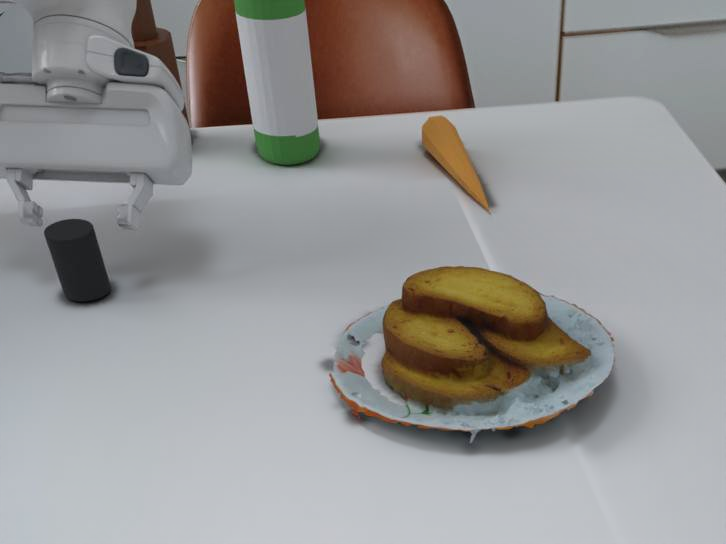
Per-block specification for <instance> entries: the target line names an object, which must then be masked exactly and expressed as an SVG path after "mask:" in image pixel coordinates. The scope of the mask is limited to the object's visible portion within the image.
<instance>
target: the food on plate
mask: <svg viewBox="0 0 726 544" xmlns="http://www.w3.org/2000/svg"><path fill="white" fill-rule="evenodd" d="M376 334H383V341H384V347H385V348H384V349H385V352H384V354H383V356H382V357H381V361H380V364H381V371H382V375H383V379H384V382H385V383H384V384H385V385H386V386H388V388H390V389H391V390H393V391H394V392H395V393H397V394H398V395H399V396H400V397H401V398H402V399H403V400H404V401H406V404H400V403H397V402H394V401H391V400H390V399H389V397H388V396H386V395H383V394H382V393H381V390H380V389H377V388H376V389H375V388H373V386H372V384H371V382H369V380H368V379H367V378H366V375H365V371H364V369H363V366H362V359H363V358H364V356H365V355H366V352H365V350H364V349H363V348H362V347H363V346H364V345H366V341H367V340H370V339H371V338H372V337H373V336H374V335H376ZM348 336H351V337H353V338H354V340H355V342H359V344H358V345H354V344H352V343H351V341H349V340H348ZM365 340H366V341H365ZM614 342H615V339H614V337H612V333H611V332H609V330H607V329H606V328H605V327H604V325H603V324H602V322H601V321H600V320H599V319H598V318H597V317H595V316H593V315H592V314H591V313H588V312H587V311H586V310H585V309H584V308H581V307H580V306H578V305H577V304H575V303H570V302H569V301H567V300H564V299H560V298H557V297H556V296H555V295H545V294H543V293H541V292H540V291H538V290H537V289H535V288H534V287H532V286H531V285H529V284H527V283H526V282H524V281H522V280H520V279H518V278H516V277H514V276H512V275H510V274H507V273H503V272H499V271H494V270H490V269H487V268H483V267H476V266H463V265H457V266H452V265H451V266H447V265H446V266H438V267H434V268H429V269H425V270H421V271H418V272H416V273H413V274H412V275H410V276H408V277H407V278H406V280H405V281H404V282H403V284H402V287H401V298H398V299H396V300H392V302H390V304H388V305H387V306H385V307H384V306H383V307H381V308H379V310H374V311H370V312H368V313H367V314H366V315H364V316H362V317H360V318H359V319H357V320H356V321H355V322H352V323H349V325H348V326H347V327H346V329H345V330H344V332H343V335H342V336H341V337H340V338H339V342H338V344H337V345H336V346H335V350H336V351H335V353H334V357H333V366H332V369H333V372H329V373H328V376H329V378H330V382H331V383H332V385H333V387H334V389H335V390H336V392H337V394H340V400H343V401H344V402H346V405H347V406H348V407H349V408H352V409H353V410H350V411H351V413H352V415H353V416H355V417H358V419H359V420H360V421H361V420H362V419H361V416H360V415H359V413H363V414H364V415H365V416H368V417H374V418H378V419H380V420H381V421H384V422H387V423H391V424H397V423H400V424H402V425H404V426H406V427H409V426H412V425H413V426H414V425H415V426H417V428H418V429H424V430H431V429H436V430H441V431H461V432H465V433H466V432H470V434H471V435H470V441H469V444H472V443H473V442H474V439H475V438H476V436H477V434H478V433H479V432H481V431H482V430H491V431H492V432H495V431H496V430H498V431H499V430H502V431H503V430H511V429H513V428H514V427H516V428H517V427H526V428H529V429H533V428H534V426H535V425H541V424H545V423H547V422H548V421H550V420H551V419H554V418H556V417H558V416H559V415H560V414H562V413H563V412H564V411H570V410H571V409H573V408H575V407H576V406H577V405H578V403H579V401H582V400H584V399H586V398H588V397H592V396H593V395H594V391H595V389H596V388H597V387H599V386H600V385H602V384H603V383H605V379H607V378H608V377H609V376H610V375H611V373H612V370H613V369H614V362H615V361H616V358H615V357H616V355H615V354H616V352H615V344H614Z"/></svg>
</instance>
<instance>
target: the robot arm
mask: <svg viewBox="0 0 726 544" xmlns="http://www.w3.org/2000/svg"><path fill="white" fill-rule="evenodd" d="M14 5H16V6H19V7H21V8H23V9H25V10H26V11H27V12H28V13H29V15H30V16H31V19H32V57H31V72H11V73H10V72H7V73H6V72H4V71H0V180H3V179H4V180H6V182H7V184H8V186H9V187H10V189H11V191H12V194H13V195H14V197H15V199H16V200H17V202H18V212H17V213H18V214H17V215H18V220H19V222H20V223H22V224H23V225H25V226H27V227H42V226H43V219H42V218H43V216H44V208H43V207H42V206H40V205H38V203H37V202H35V201H33V200H32V199H31V197H30V195H29V192H28V191H32V190H33V189H34V188H33V187H34V181H52V182H53V181H55V182H77V183H79V182H80V183H102V184H103V183H104V184H105V183H107V184H129V186H131V188H133V191H132V192H131V194H130V196H129V198H128V200H127V202H126V203H125V204H117V211H116V212H117V214H118V215H117V216H116V222H117V225H118V226H119V227H120V228H121V229H122V230H129V231H130V230H131V231H139V230H140V228H141V213H142V212H143V211H144V209H145V208H146V207H147V205H148V203H149V202H150V200H151V199H152V197H153V196H154V185H157V186H184V185H185V184H186V183H187V182H188V180H189V179H190V178H191V177H192V175H193V144H192V145H191V136H192V134H191V135H190V131H191V127H190V128H189V126H190V124H189V125H188V122H187V120H186V118H185V117H184V115H183V114H182V112H181V111H182V110H183V108H184V101H185V94H184V91H183V89H182V90H181V88H180V86H179V84H178V82H177V81H176V79H175V78H174V76H173V75H172V73H171V72H170V71H169V70H168V68H167V67H166V66H165V65H164V64H163V63H162V61H161V60H160V59H158V58H157V57H155V56H153V55H150V54H148V53H145V52H142V51H139V50H137V49H135V47H134V42H133V38H132V34H131V25H132V21H133V18H134V15H135V12H136V5H137V0H0V17H1V16H2V15H3V14H4V13H5V12H6V11H7V10H9V9H10V8H12V7H13V6H14ZM182 91H183V92H182Z"/></svg>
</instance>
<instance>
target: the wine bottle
mask: <svg viewBox="0 0 726 544" xmlns="http://www.w3.org/2000/svg"><path fill="white" fill-rule="evenodd" d="M233 4H234V10H235V11H234V13H235V18H236V24H237V32H238V38H239V44H240V50H241V57H242V64H243V70H244V77H245V83H246V90H247V97H248V103H249V108H250V109H249V110H250V116H251V123H252V128H253V135H254V141H255V145H256V149H257V152H258V155H259V156H260V157H261V158H262V159H263V160H265V161H267V162H269V163H270V164H275V165H281V166H282V165H283V166H293V165H299V164H303V163H306V162H309V161H311V160H313V159H314V158H315V157H316V156H317V155H318V153H319V151H320V146H321V140H320V138H321V137H320V130H319V119H318V118H319V117H318V109H317V101H316V100H317V99H316V92H315V83H314V81H315V80H314V72H313V65H312V55H311V45H310V36H309V35H310V34H309V27H308V18H307V10H306V9H307V8H306V3H305V0H233Z"/></svg>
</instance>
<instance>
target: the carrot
mask: <svg viewBox="0 0 726 544" xmlns="http://www.w3.org/2000/svg"><path fill="white" fill-rule="evenodd" d="M421 142H422V146H423V147H424V148H425V150H426V151H427V152H428V153H429V154H431V156H432V157H433V158H434V159H435V160H436V161H437V162H438V164H439V165H441V167H443V168H444V169H445V170H446V172H447V173H448V174H449V175H451V177H452V178H453V179H454V180H455V181H456V182H457V183H458V184H459V185H460V186H461V187H462V189H464V190H465V191H466V192H467V193H468V194H469V195H470V196H471V197H473V198H474V199H475V201H477V202H478V203H479V204H480V205H481V206H483V207H484V208H485V209H486V210H487V211H488V212H489V213H491V208H490V205H489V204H488V200H487V197H486V195H485V192H484V189H483V186H482V183H481V181H480V179H479V176H478V175H477V174H478V173H477V172H476V169H475V167H474V165H473V163H472V161H471V158H470V156H469V153H468V152H467V149H466V147H465V145H464V143H463V141H462V139H461V136H460V134H459V131H458V129H457V127H456V126H455V125H454V124H453V123H452V122H451V121H450V120H449V119H448V118H447V117H445V116H444V115H434V116H429V117H427V120H426V121H425V122H424V123H423V124H422V126H421Z"/></svg>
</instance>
